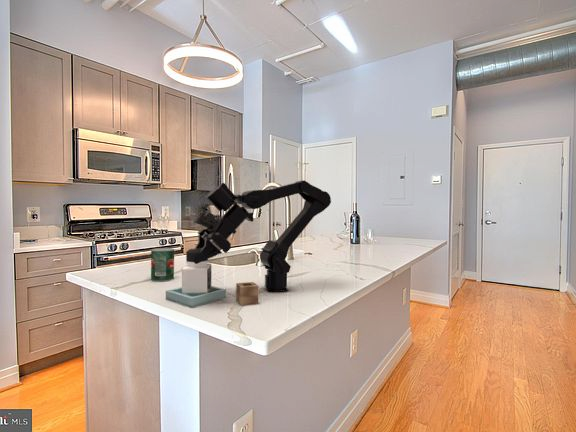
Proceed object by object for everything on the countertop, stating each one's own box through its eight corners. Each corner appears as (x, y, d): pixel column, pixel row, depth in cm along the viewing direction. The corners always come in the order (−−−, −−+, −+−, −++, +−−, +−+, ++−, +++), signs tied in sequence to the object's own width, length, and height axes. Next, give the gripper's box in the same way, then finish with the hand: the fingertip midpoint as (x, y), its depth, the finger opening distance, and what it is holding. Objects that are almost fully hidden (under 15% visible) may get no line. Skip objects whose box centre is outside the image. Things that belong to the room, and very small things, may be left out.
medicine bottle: (207, 293, 87) (207, 250, 87) (181, 293, 86) (181, 250, 86) (211, 286, 94) (211, 247, 94) (187, 287, 94) (187, 247, 93)
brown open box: (252, 298, 91) (253, 281, 91) (258, 303, 86) (258, 285, 86) (236, 300, 89) (236, 283, 89) (240, 305, 84) (240, 287, 84)
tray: (199, 290, 99) (200, 283, 99) (226, 297, 92) (226, 289, 91) (165, 299, 89) (165, 290, 89) (191, 307, 82) (192, 298, 82)
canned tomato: (148, 278, 114) (148, 248, 114) (170, 276, 119) (170, 247, 119) (153, 282, 108) (154, 251, 107) (176, 280, 112) (177, 249, 112)
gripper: (204, 203, 100) (167, 239, 95) (219, 202, 83) (175, 246, 78) (228, 227, 103) (194, 262, 99) (247, 231, 87) (207, 274, 82)
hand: (192, 261), depth 89 cm, fingers closed on medicine bottle, 6 cm apart
